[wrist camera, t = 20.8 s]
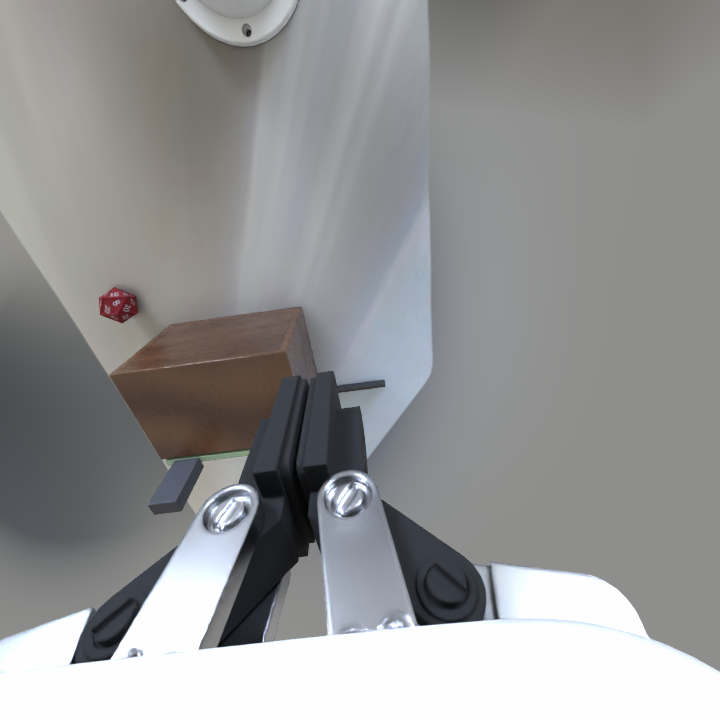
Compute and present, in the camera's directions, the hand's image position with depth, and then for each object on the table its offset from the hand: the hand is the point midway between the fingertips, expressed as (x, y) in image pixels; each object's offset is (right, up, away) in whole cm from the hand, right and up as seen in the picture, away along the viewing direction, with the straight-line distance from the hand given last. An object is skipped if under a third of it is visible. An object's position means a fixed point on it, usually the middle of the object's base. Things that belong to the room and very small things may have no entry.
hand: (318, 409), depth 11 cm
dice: (-29, +10, +30) cm, 43 cm away
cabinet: (-9, +2, +35) cm, 36 cm away
